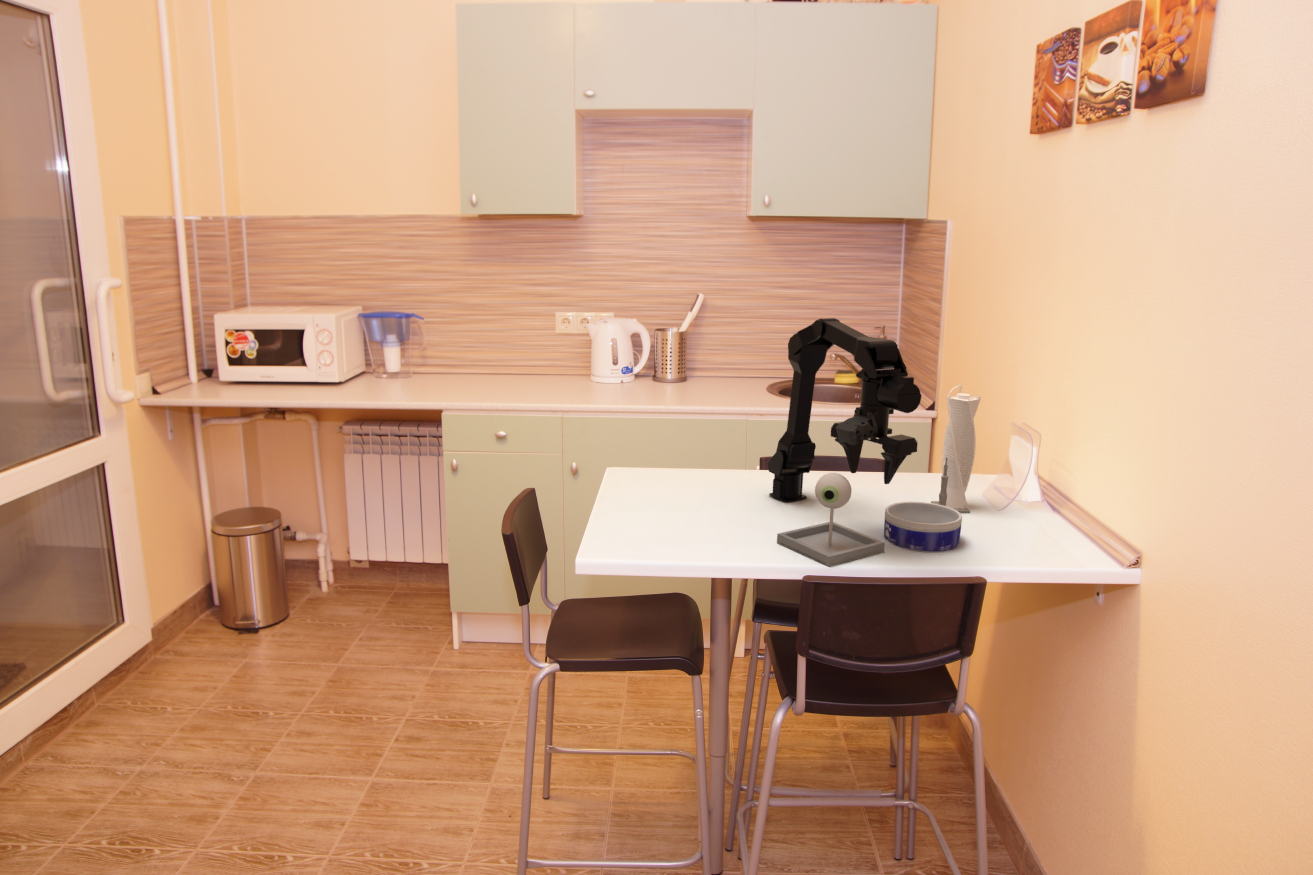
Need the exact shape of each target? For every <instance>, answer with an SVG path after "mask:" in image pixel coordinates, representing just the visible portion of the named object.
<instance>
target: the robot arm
mask: <svg viewBox="0 0 1313 875" xmlns="http://www.w3.org/2000/svg"><path fill="white" fill-rule="evenodd" d="M834 345H835V346H837V347H838V348H840V349H842V350H844V351H846V352H847V353H848V354H849V353H850V354H851V355H852V356H853V361H854V362H855V363H856V364H857V365H858V366H859V367H860V368H861V370H860V371H858V372H857V373H856V374H855V376H856V378H858V379H862V380H861V390H860V406H856V407H855V409H854V414H853V416H852V417H849V418H847V419H845V420H844V421H839V422H838V421H837V422H834V423H833V425H832V426H831V427H830V437H831V438H834V441H835V442H836V443H838V444H839V445H840V446H841V447H842V448H843V450H844V453H845V456H846V460H847V463H848V467H849V471H850V473H851V474H856V473H857V470H858V468H859V463H860V458H861V453H862V450H863V444H864V441H868V442H871V443H874V444H879V445H881V448H882V449H883V452H880V455H881V457H883V460H884V466H883V467H884V468H883V484H885V485H889V484H890V483H891V482H892V480H893V478H894V477H895V474H896V473H897V472H898V469H899V468H900V466H901V465H902V464H903V462H904V460H905V459H906V458H907V456H911V455H912V454H913V453H917V452H918V440H917V439H916V438H915V437H912V436H910V435H905V434H895V435H891V434H893V428H891V427H890V428H889V420H890V419H889V418H890V415H893V414H894V410H895V411H898V412H901V413H903V414H904V413H905V414H910V413H913V412H915V411H916V409H918V408H919V405H920V403H921V400H922V393H921V390H920V388H919V386H918V385H917V384H915V383H914V382H915V377H914V376H909V374H908V370H907V366H906V364H905V362H904V359H903V357H902V355H901V354H902V353H901V351H900V349H899V347H898V345H899V344H897V342H896V341H895V340H893V339H887V338H882V337H876V336H875V337H872V336H869V335H866V334H864V333H862V332H860V331H858V330H856V329H854V328H853V327H850V326H849V325H846V324H845V323H843V322H841V321H840V320H839V319H838V318H834V317H829V318H828V317H827V318H818V319H815V321H813V323H811V325H810V324H809V325H807V326H806V327H804V328H802V329H800V330H799V331H797V332H796V333H793V335H792V336H790V337H789V340H788V342H787V351H788V352H787V353H788V355H787V359H788V361H789V363H790V365H791V367H792V369H793V374H792V383H791V392H790V399H789V400H790V401H789V408H788V416H787V425H786V431H785V432H784V433H783V435H782V436H781V437H780V438H779V440H778V442H777V448H776V451H775V452H774V454H773V456H772V457H770V459H769V460H768V462H767V468H768V472H769V473H771V474H773V479H772V492H769V494H768V495H769V497H772V498H774V499H777V500H780V501H782V502H785V503H791V502H796V501H800V500H804V499H807V495H805V494H803V485H804V484H803V482H804V474H810V471H811V468H812V464H813V462H814V460H815V451H816V448H817V446H816V443H815V442H813V441H812V438H811V437H810V434H809V431H810V429H809V428H810V422H811V414H812V407H813V399H814V392H815V391H814V390H815V384H816V374H817V373H818V372H819V370H820V368H821V367H822V366H823V365H824V363H825V360H826V358H827V353H828V351H829V350H830V349H831V348H832V347H833V346H834ZM889 435H890V436H889Z"/></svg>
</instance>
